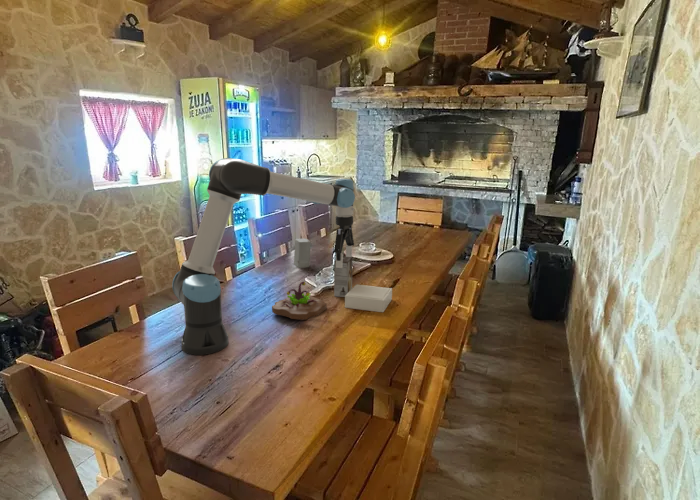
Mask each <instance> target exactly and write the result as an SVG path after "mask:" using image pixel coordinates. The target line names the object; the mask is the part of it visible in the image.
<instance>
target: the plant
mask: <svg viewBox="0 0 700 500" xmlns="http://www.w3.org/2000/svg"><path fill="white" fill-rule="evenodd" d="M305 285H306V282H305V281H301V282H300V284H299V286H298V291H297V290H296V289H294V288H291V289H289V290H288V291H287V292H286V298H284V299H280V300H278V301H276V302H274V304H272V306H271V311H272V314H275V315H278V316H283V317H286V318H290V319H291V320H308V319H309V318H312V317H317V316H319V315H320V314H321V313H323V312H324V311H326V310H327V309H328V308H327V306H328V305H327V303H326V302H325V301H324V300H322V299H320V298H318V297H314V296H311V295H312V293H310V292H309V291H308V290H303V291H302V286H305ZM291 292H293V293H291ZM304 293H305V294H304Z"/></svg>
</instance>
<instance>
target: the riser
mask: <svg viewBox="0 0 700 500" xmlns="http://www.w3.org/2000/svg"><path fill="white" fill-rule="evenodd" d="M392 299H393V287H385V286H384V287H381V286H373V285H366V284H365V285H364V284H356V283H355V285H354V286H352V289H351V290H350V291H349V292H348V293H347V294H346V295H345V297H344V308H347V309H352V310H353V309H354V310H362V311H370V312H378V313H384V312H385V310H386V309H387V307H388V306H389V304H390V303H391V302H392Z"/></svg>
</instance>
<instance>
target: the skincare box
mask: <svg viewBox="0 0 700 500" xmlns="http://www.w3.org/2000/svg"><path fill="white" fill-rule="evenodd" d="M311 245H312V244H311V241H310V240H309V239H307V238H306V237H305V238H295V239H294V255H293V265H294V266H295V267H296V268H297V269H305V268H310V264H311V261H310V260H311Z"/></svg>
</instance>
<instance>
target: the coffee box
mask: <svg viewBox="0 0 700 500" xmlns="http://www.w3.org/2000/svg"><path fill="white" fill-rule="evenodd" d="M333 266H334V273H333V274H334V275H333V276H334V283H333V284H334V286H333V287H334V290H333V291H334V292H333V293H334V295H333V296H334V297H341V298H345V295H346V294H347V293H348V292H349V291H350V290H351V289H352V288H353V256H352V257H346V256H343V268H336V259H335V260H334V265H333Z"/></svg>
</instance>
